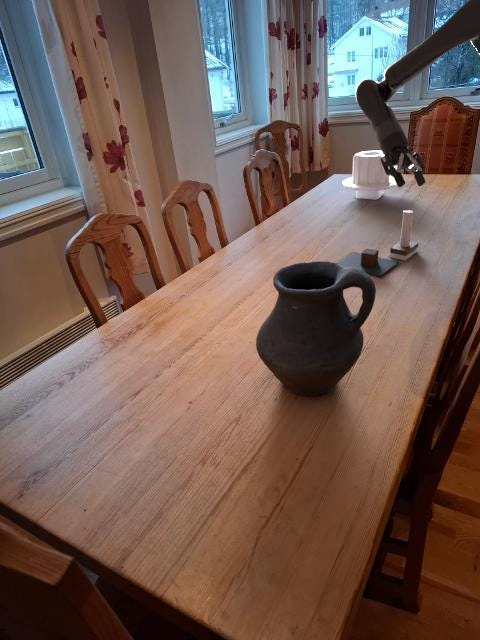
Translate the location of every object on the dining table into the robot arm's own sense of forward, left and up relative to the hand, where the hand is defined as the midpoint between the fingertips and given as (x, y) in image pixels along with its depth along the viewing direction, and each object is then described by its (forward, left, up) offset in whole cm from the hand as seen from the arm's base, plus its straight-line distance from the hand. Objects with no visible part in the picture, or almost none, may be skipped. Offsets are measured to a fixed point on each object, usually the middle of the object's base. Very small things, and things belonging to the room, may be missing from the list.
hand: (412, 185), depth 125 cm
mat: (+7, +12, -23) cm, 26 cm away
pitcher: (-13, +69, -23) cm, 73 cm away
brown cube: (+6, +12, -22) cm, 25 cm away
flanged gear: (+45, -59, -23) cm, 78 cm away
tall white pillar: (+1, -1, -23) cm, 23 cm away
